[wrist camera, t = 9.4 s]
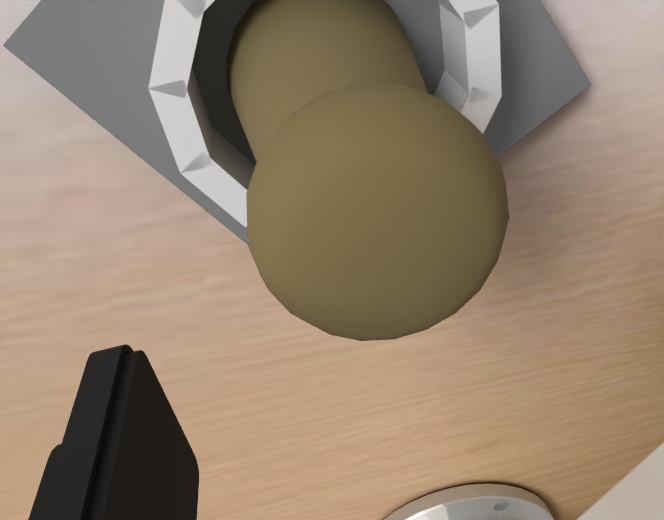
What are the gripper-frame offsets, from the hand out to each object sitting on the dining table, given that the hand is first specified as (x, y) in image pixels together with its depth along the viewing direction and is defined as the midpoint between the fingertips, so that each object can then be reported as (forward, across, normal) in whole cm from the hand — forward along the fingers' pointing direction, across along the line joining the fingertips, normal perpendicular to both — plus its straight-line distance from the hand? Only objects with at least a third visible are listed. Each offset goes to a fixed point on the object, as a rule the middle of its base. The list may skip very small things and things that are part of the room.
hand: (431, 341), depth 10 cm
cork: (+12, 0, -1) cm, 13 cm away
